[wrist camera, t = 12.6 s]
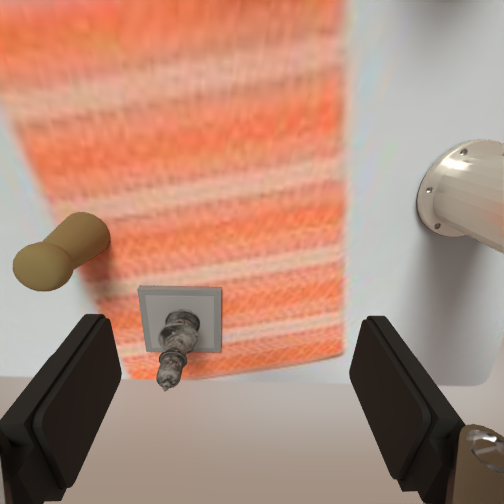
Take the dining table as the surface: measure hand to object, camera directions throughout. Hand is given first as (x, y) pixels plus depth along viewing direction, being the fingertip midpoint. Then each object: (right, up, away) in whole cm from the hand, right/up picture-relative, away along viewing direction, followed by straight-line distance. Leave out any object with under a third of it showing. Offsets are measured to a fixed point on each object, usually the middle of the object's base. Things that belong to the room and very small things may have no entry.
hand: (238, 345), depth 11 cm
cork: (-22, +6, +27) cm, 35 cm away
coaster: (-10, -7, +34) cm, 36 cm away
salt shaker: (-10, -7, +33) cm, 35 cm away
